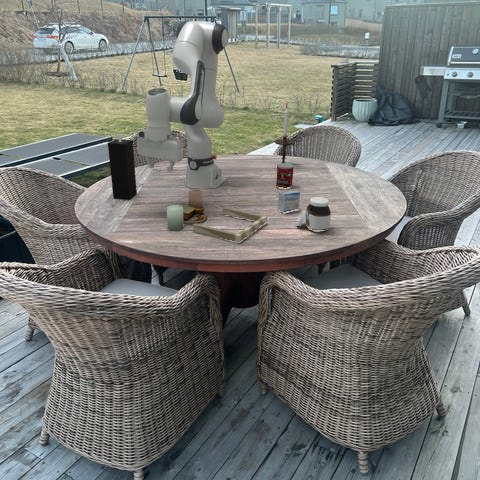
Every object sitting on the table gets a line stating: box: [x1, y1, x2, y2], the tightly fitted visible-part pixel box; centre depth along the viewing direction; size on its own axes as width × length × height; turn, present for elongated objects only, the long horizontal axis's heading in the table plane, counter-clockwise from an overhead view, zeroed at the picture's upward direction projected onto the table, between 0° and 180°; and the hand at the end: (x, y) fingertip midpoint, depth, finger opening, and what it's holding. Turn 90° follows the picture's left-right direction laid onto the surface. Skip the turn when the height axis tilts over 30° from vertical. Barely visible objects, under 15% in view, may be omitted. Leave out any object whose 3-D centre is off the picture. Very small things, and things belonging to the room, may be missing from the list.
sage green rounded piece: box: [166, 204, 185, 232], centre depth 167 cm, size 6×6×8 cm
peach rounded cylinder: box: [188, 189, 204, 209], centre depth 187 cm, size 6×6×7 cm
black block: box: [107, 133, 138, 201], centre depth 193 cm, size 8×8×28 cm
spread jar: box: [296, 196, 332, 231], centre depth 168 cm, size 12×11×12 cm
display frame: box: [192, 206, 268, 242], centre depth 169 cm, size 22×20×3 cm
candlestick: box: [274, 103, 296, 163], centre depth 243 cm, size 11×11×35 cm
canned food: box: [275, 162, 294, 188], centre depth 214 cm, size 8×8×11 cm
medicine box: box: [277, 189, 301, 212], centre depth 185 cm, size 8×4×9 cm, turn 117°
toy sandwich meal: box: [179, 203, 208, 225], centre depth 176 cm, size 12×14×5 cm
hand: (160, 169), depth 175 cm, fingers open, 8 cm apart
